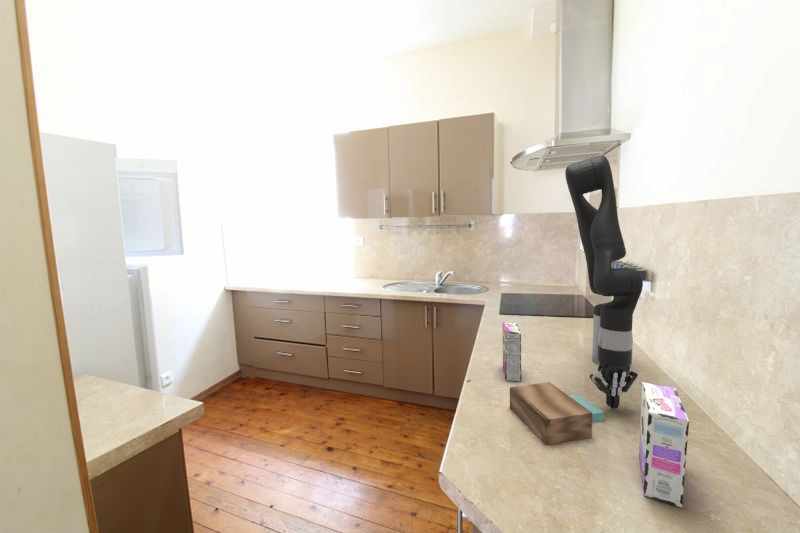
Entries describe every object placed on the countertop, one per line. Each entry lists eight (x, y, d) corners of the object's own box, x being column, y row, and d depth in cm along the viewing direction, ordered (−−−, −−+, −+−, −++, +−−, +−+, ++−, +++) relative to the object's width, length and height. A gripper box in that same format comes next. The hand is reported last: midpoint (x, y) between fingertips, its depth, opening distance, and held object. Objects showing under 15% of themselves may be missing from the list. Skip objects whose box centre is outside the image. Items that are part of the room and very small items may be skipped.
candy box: (684, 509, 58) (690, 421, 56) (642, 496, 62) (647, 411, 60) (672, 461, 70) (677, 386, 68) (637, 452, 73) (641, 380, 71)
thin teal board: (578, 404, 94) (578, 393, 94) (603, 422, 85) (603, 410, 85) (525, 412, 91) (525, 401, 91) (546, 431, 82) (546, 419, 82)
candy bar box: (501, 367, 119) (501, 321, 117) (516, 367, 118) (516, 322, 116) (505, 381, 108) (505, 331, 106) (521, 382, 107) (521, 332, 105)
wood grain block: (549, 402, 95) (549, 382, 94) (591, 436, 79) (592, 412, 78) (509, 408, 92) (509, 387, 92) (545, 444, 77) (545, 420, 76)
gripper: (625, 337, 92) (622, 397, 94) (582, 342, 90) (580, 403, 92) (649, 346, 85) (646, 411, 87) (603, 352, 83) (601, 418, 85)
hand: (612, 407), depth 90 cm, fingers closed
